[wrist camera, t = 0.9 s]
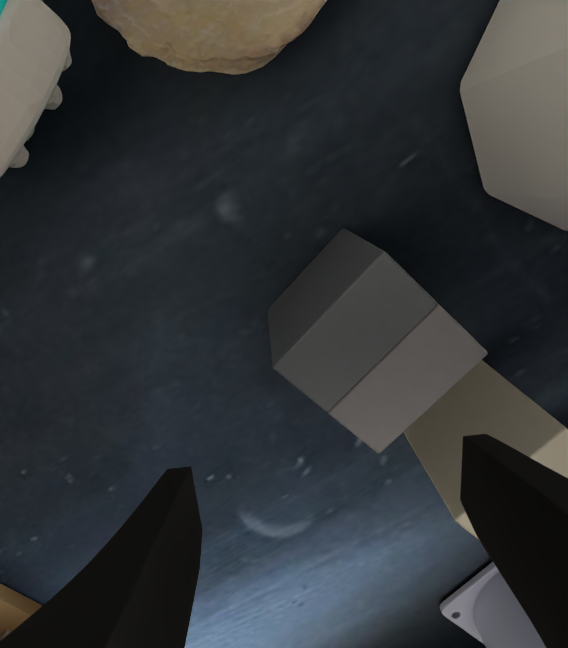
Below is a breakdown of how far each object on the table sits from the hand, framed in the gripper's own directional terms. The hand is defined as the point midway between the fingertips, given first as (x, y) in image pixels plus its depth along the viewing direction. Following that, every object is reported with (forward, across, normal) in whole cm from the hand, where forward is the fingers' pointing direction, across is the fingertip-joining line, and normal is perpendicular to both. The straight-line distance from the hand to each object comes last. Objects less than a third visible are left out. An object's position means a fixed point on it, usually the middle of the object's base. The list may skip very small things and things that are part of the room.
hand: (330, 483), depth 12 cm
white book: (+10, -7, +4) cm, 13 cm away
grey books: (+10, -6, +3) cm, 12 cm away
